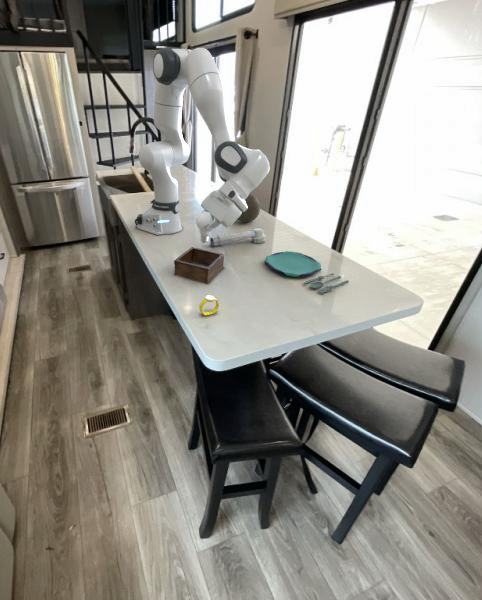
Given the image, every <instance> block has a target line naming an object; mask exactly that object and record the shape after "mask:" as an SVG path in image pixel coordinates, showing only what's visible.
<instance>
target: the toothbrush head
mask: <svg viewBox="0 0 482 600" xmlns="http://www.w3.org/2000/svg"><path fill="white" fill-rule="evenodd" d="M266 237H267V235H266V233H264V229H263V228H262V227H256V228H254V229H252V230H247V231H239V232H234V233H227V234H221V235H219V234H217V235H216V236H211V237H210V238H209V241H210V246H211V247H213V248H214V247H217V246H219V247H221V246H222V245H226V244H231V243H234V242H239V241H243V240H244V241H245V240H248V239H251V241H252V243H253V244H262V243H263V242H265V239H266Z"/></svg>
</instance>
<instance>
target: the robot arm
mask: <svg viewBox="0 0 482 600" xmlns="http://www.w3.org/2000/svg"><path fill="white" fill-rule="evenodd" d="M152 71H153V75H154V77H155V80H156V85H155V92H154V105H153V108H154V109H153V124H154V126H155V128H156V129H157V130H158V131H159V132H160V134H161V141H160V140H159V141H151V142H148V143H147V144H144V145H143V146H141V147H140V149H139V151H138V161H139V164H140V165H141V167H142V168H143V169H144V170H146V172H148V175H150V178H151V181H152V185H153V193H154V198H153V199H152V200H150V201H149V204H150V205H151V207H150V208H149V209H147V210H146V211H145V212H143V213H139V214H137V217H136V218H135V219H134V225H135V226H136V228H137V229H139V230H142V231H145V232H146V233H147V232H148V233H151V234H153V235H156V236H160V235H169V234H170V235H171V234H175V233H178V232H181V231H182V230H183V227H182V222H181V217H180V199H179V183H178V181H177V179H175V178H174V177H172V175H171V171H170V170H171V168H176V167H180V166H181V165H184V164H185V163H187V162H188V160H189V158H190V148H189V145H188V144H187V142H186V141H185V140H184V137H183V133H182V115H183V114H182V113H183V104H184V103H183V101H184V91H185V90H186V89H187V88H188V90H189V93H190V96H191V98H192V101H193V103H194V105H195V107H196V109H197V111H198V112H199V114H200V117H201V118H202V119H203V121H204V123H205V125H206V126H207V128H208V131H209V132H210V135H211V137H212V141H213V143H214V146H215V151H214V154H213V155H214V156H213V158H214V163H215V166H216V169H217V173H218V176H219V178H220V180H221V181H222V182H224V183H223V184H222V185H221V186H220V188H218V189H216V190H213V191H212V192H210V193H209V194H208V195H207V196H206V197H205V198H204V199H203V200H202V201H201V203H200V207H201V208H202V209H203V210H202V212H204V211H206V212H209V213H210V214H211V215H212V216H213V217H214V220H213V222H212V223H211V224H208V225H207V226H206V227H205V228H206V229H207V230H208V231H209V233H210V232H212V230H214V229H215V228H218V227H219V226H220V225H222V226H223V227H224V228H226V229H227V228H229V227H231V226H232V225H233V224H234V223H236V221H238V220H237V219H238V218H239V217H240V215H241V213H242V212H245V211H246V210H247V209H248V207H247V204H246V202H245V199H246V198H247V197H248V195H249V193H252V191H254V190H255V189H257V188H258V186H259V185H260V184H261V183H262V182H263V181H264V180H265V179H266V177H267V175H268V174H269V172H270V170H271V165H270V161H269V159H268V157H267V156H266V154H265V153H264V152H263V151H262V150H260V149H251V148H247V147H245V146H242V145H240V144H238V143H237V142H236V141H233V139H232V136H231V133H230V130H229V125H228V116H227V105H226V104H227V102H226V101H227V100H226V93H225V87H224V83H223V79H222V76H221V73H220V71H219V67H218V65H217V63H216V61H215V59H214V57H213V56H212V54H211V52H210V51H209V50H208V49H207V48H205V47H196V48H194V49H189V48H171V47H162V48H159V49H157V51H156V53H155V54H154V56H153V59H152Z"/></svg>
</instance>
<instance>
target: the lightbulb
mask: <svg viewBox="0 0 482 600" xmlns="http://www.w3.org/2000/svg"><path fill="white" fill-rule="evenodd" d="M203 211H204V210H203ZM203 211H201V212H199V213H197V215H196V217H195V218H196V219H195V225H196V226H197V228H198V230H199V234H200V242H202V243H207V242H209V235H210V232H209V231H208V230H207V229H206V228H205V227H206V226H207V225H208V224H211V223H212V222H213V220H214V219H215V218H214V217H213V216H212V215H211V214H210V213H209V212H206V211H204V212H203Z"/></svg>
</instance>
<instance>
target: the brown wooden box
mask: <svg viewBox="0 0 482 600" xmlns="http://www.w3.org/2000/svg"><path fill="white" fill-rule="evenodd" d="M173 262H174V263H173V265H174V275H175V276H176V277H177V276H178V277H181V278H185V279H189V280H193V281H196V282H200V283H203V284H207V285H208V284H209V283H211V281H212V280H213V279H214V278H215V277H216V276H217V275H218V274H219V273H220V272H221V271H222V270H223V269H224V262H225V253H221V252H216V251H211V250H207V249H203V248H199V247H194V246H191V247H189V248H188V249H187V250H186V251H184V252H183V253H182V254H180V255H179V256H177V258H175V259H174V260H173ZM194 263H197V264H194ZM198 264H199V265H198ZM200 264H201V265H200ZM202 265H204V266H202Z"/></svg>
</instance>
